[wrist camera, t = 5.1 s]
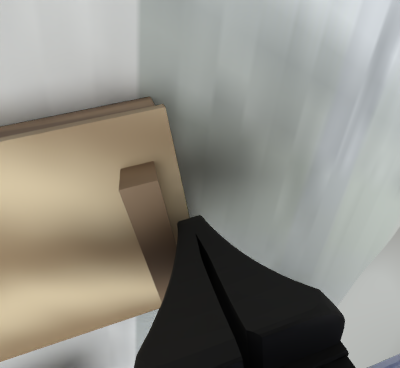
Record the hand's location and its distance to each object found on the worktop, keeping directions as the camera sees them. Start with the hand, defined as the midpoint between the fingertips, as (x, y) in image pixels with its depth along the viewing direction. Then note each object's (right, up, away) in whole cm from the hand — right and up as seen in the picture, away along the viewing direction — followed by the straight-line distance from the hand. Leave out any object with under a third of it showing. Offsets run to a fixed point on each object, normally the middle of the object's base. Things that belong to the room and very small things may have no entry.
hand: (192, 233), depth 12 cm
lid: (-7, -1, 0) cm, 7 cm away
